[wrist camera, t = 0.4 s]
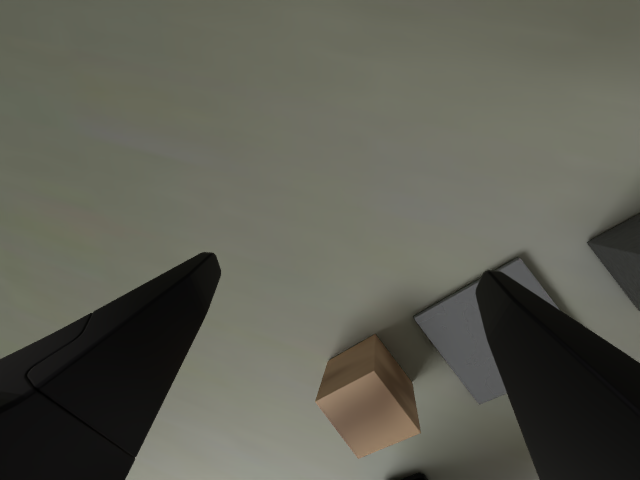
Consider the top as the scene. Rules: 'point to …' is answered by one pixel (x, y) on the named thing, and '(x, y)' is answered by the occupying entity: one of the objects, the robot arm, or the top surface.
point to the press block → (622, 256)
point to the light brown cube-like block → (368, 398)
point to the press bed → (472, 333)
